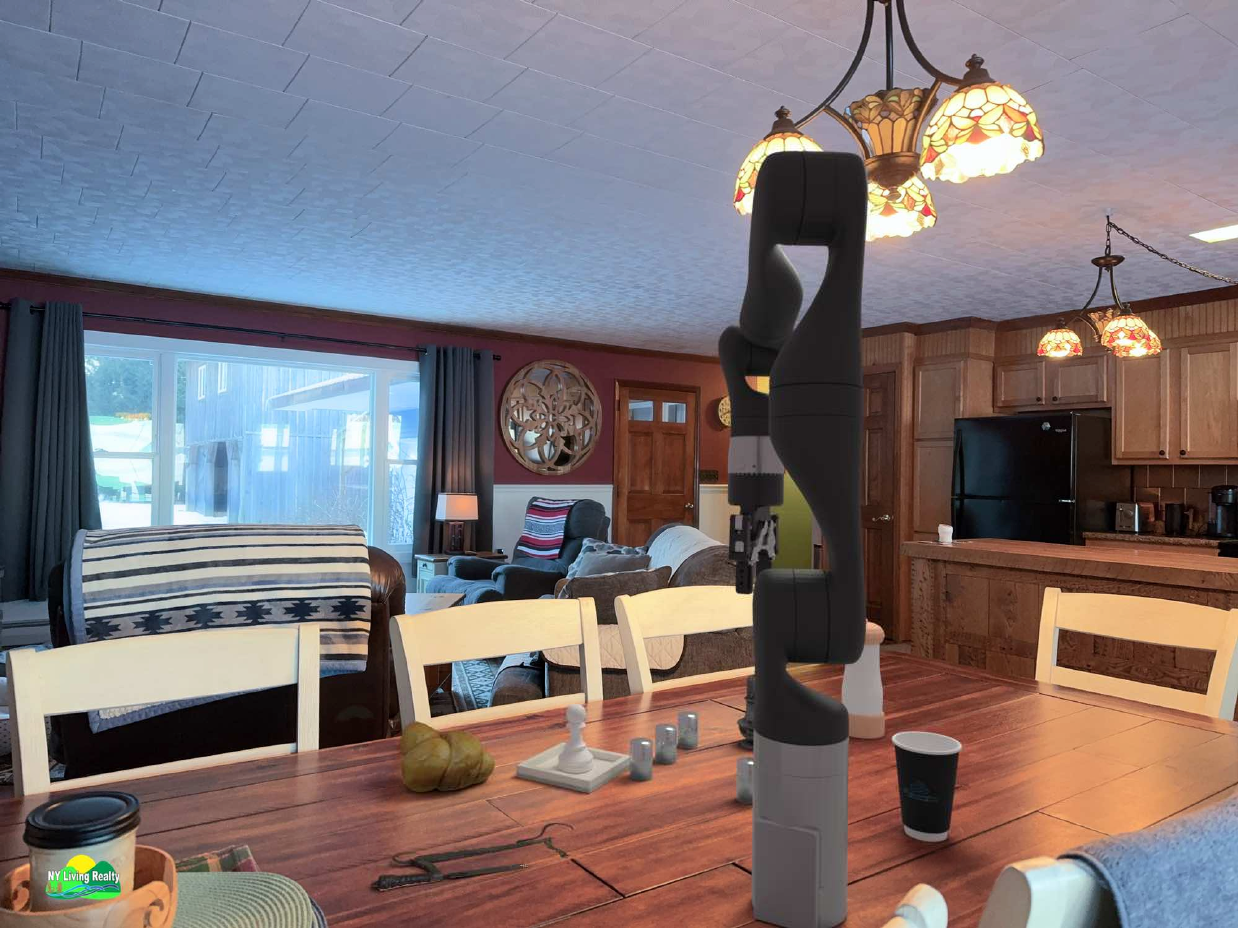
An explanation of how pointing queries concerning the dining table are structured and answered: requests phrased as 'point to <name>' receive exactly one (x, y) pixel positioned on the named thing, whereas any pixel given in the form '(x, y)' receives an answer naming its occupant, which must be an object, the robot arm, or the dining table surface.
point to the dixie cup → (926, 782)
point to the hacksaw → (434, 873)
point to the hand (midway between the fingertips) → (754, 590)
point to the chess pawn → (575, 744)
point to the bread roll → (442, 759)
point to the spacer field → (686, 740)
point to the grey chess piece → (748, 716)
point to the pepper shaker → (865, 689)
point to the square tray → (549, 773)
